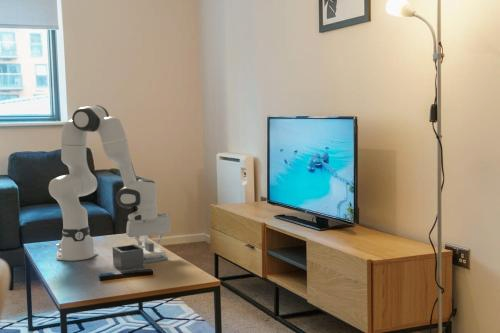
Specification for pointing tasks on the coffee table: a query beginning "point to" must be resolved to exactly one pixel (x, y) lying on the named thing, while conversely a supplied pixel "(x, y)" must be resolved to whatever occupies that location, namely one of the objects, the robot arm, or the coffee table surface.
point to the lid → (152, 251)
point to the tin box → (128, 257)
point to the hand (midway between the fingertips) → (149, 244)
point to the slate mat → (156, 259)
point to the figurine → (145, 239)
